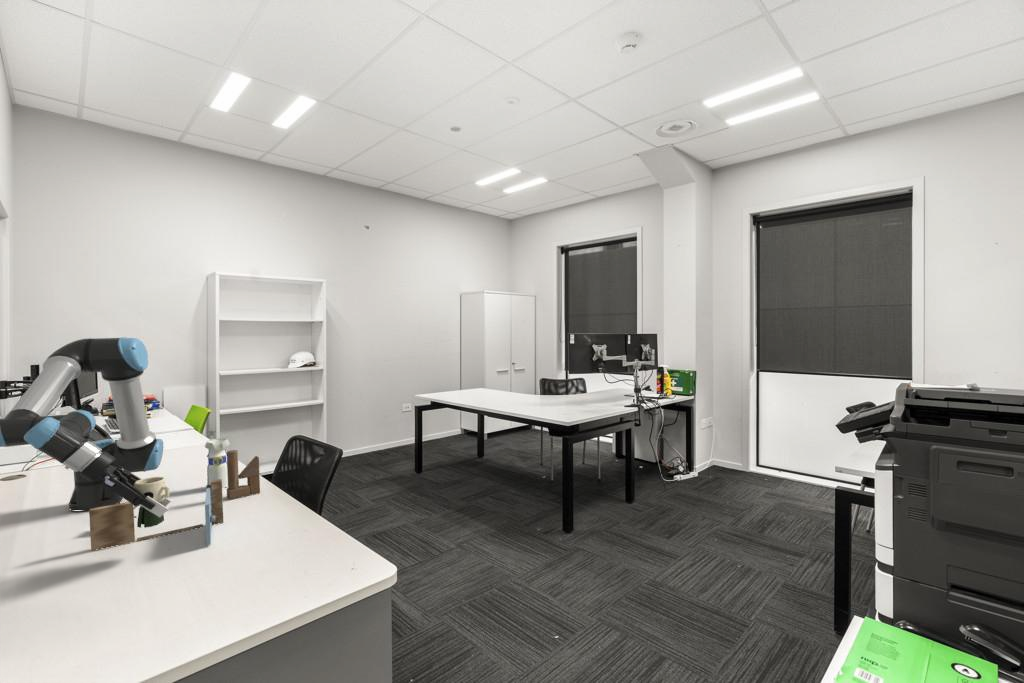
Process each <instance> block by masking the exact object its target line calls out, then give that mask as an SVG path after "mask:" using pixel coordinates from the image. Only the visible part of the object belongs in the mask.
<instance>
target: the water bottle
mask: <svg viewBox="0 0 1024 683" xmlns="http://www.w3.org/2000/svg"><path fill="white" fill-rule="evenodd" d="M216 432H217V430H213V428H211V429H210V430H208V431H206V433H208V437H209V438H210V437H211V436H212V437H215V433H216ZM229 446H230V441H229V439H228V438H227V437H221V438H220V437H219V438H218V437H217V438H212V439H209V440H206V443H205V445H204V448H205V449H206V450H207V449H208V453H207V455H206V457H207V461H208V462H207V463H208V464H207V466H206V468H207V470H206V472H207V479H206V480H207V484H206V485H211V481H213V480H219V479H221V480H222V488H225V487H227V488H228V474H227V451H226V448H227V447H229ZM225 489H226V488H225Z"/></svg>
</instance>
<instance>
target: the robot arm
mask: <svg viewBox="0 0 1024 683" xmlns="http://www.w3.org/2000/svg"><path fill="white" fill-rule="evenodd" d="M148 365H149V355H148V350H147V347H146V345H145V344H144V342H143V341H142V340H141V339H139V338H137V337H125V336H124V337H123V336H122V337H109V338H108V337H106V338H104V337H103V338H100V337H99V338H81V339H77V340H75V341H74V340H73V341H71V342H69V343H66V344H65V345H63V346H61V347H59V348H58V349H56V350H55V351H54V352H52V353H51V354H50V355H49V356H48V357H47V358H46V359H45V360H44V362H43V364H42V370H41V372H40V373H39V374H38V375H37V377H36V378H35V380H34V381H33V382H32V383H31V384H30V386H28V388H27V390H25V392H24V393H23V395H22V396H21V397H20V398H19V400H18V401H17V402H16V403H15V405H14V406H13V407H12V409H11V410H10V411H9V412H8V413H7V414H6V415H5V417H4V418H0V447H4V448H8V447H14V446H15V447H16V446H27V445H30V446H32V447H33V448H34V449H37V450H38V451H40V452H41V453H44V455H45V454H46V455H47V456H49V457H51V459H54V461H55V460H56V461H57V462H58V463H60V464H62V465H64V468H65V470H71V471H73V480H74V488H73V491H72V494H71V497H70V499H69V502H68V509H69V508H70V509H71V510H90V509H92V508H98V507H103V506H109V505H113V504H116V503H117V504H118V502H120V503H121V502H122V501H123V500H122V499H124V500H126V501H127V502H130V503H132V504H133V506H134V507H136V508H137V507H138V505H140V506H142V507H144V508H145V509H147V510H148V511H150V512H152V513H153V514H155V515H157V516H158V517H161V516H162V515H164V514H165V513H166V512H167V511H169V508H168V507H167V506H168V505H169V504H170V503H171V502H172V500H171V499H170V498H169V497H168V498H165V499H164V500H163V501H161V502H157V501H155V500H154V499H152V498H151V497H149V496H147V497H146V496H145V495H144V494H142V493H141V492H140V491H139V490H137V489H136V488H135V487H134V483H135V482H136V481H138V480H141V479H142V478H141V477H138V476H137V475H135V474H134V473H141V472H148V471H156V470H157V469H158V468H159V467H160V465H161V462H162V459H163V453H164V441H163V439H161V438H156V437H157V436H156V434H155V432H153V431H150V427H149V421H148V416H147V415H148V414H147V411H146V406H145V400H144V395H143V390H142V384H141V379H140V377H141V376H143V374H144V371H145V370H146V369H147V368H148ZM86 373H100V374H101V378H102V380H104V382H105V381H106V382H108V384H109V389H110V393H111V397H112V398H111V399H112V402H113V406H114V411H115V416H116V421H117V426H118V430H119V435H120V438H118V440H117V441H115V439H114V438H105V439H100V440H95V441H90V440H88V439H86V438H85V437H86V436H88V435H89V434H90V433H91V432H92V431H93V430H94V429H95V427H96V424H97V423H96V418H95V416H94V415H93V413H91V412H89V411H87V410H84V409H77V410H73V411H70V412H68V413H67V414H56V415H55V414H53V415H48V414H49V412H50V411H51V410H52V409H53V407H54V406H55V404H56V403H57V401H58V400H59V398H60V397H61V396H62V395H63V394H64V391H65V390H66V389H67V387H68V386H69V384H70V383H71V382H72V381H73V380H75V379H77V378H78V377H79V376H80V375H82V374H86ZM121 500H122V501H121ZM160 503H161V504H160ZM140 506H139V507H140Z"/></svg>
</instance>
